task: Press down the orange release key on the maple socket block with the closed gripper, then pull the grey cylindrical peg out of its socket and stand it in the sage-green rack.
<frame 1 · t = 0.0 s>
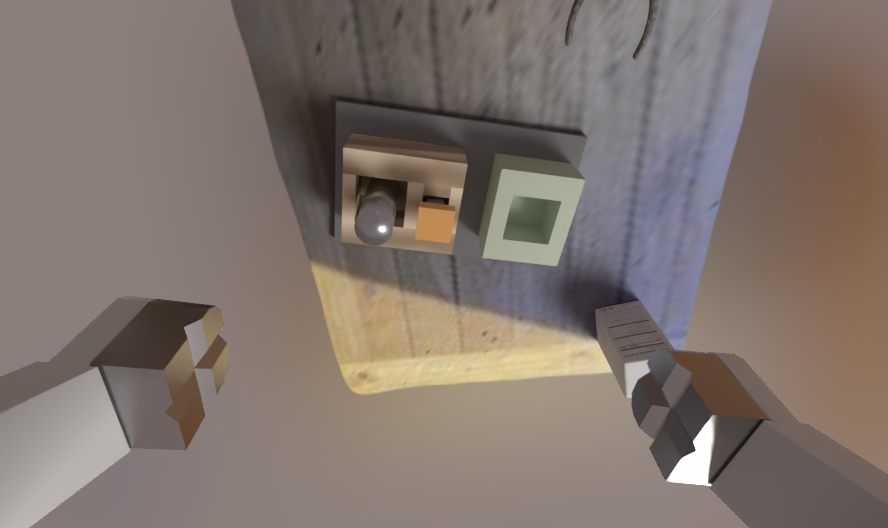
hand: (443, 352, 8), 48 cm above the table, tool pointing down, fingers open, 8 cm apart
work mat: (452, 189, 57), on the table
release key: (434, 215, 50), point 9 cm above the table, slide at 0.0 cm
rack: (522, 201, 57), resting on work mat
socket block: (404, 186, 56), resting on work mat
supplement box: (617, 319, 70), on the table
grey cylindrical peg: (384, 186, 55), point 2 cm above the table, touching socket block
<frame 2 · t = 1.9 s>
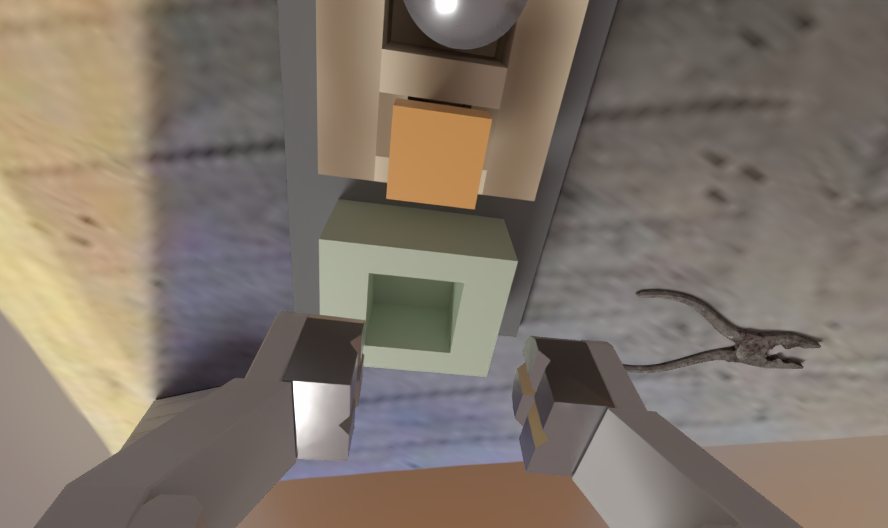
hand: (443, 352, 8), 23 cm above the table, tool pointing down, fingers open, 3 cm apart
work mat: (430, 143, 29), on the table
release key: (436, 142, 20), point 9 cm above the table, slide at 0.0 cm
rack: (415, 267, 33), resting on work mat
socket block: (444, 38, 25), resting on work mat
supplement box: (208, 414, 43), on the table
pliers: (713, 327, 39), on the table
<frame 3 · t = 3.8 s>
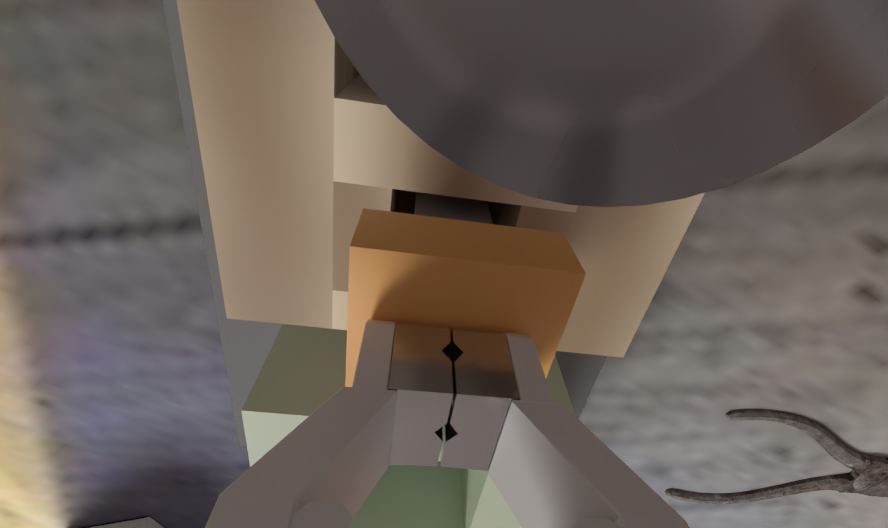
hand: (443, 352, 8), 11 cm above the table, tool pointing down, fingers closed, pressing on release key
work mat: (435, 221, 18), on the table
release key: (448, 271, 10), point 8 cm above the table, slide at 0.9 cm, touching gripper
rack: (411, 389, 23), resting on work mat
socket block: (461, 61, 14), resting on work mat
pliers: (823, 448, 28), on the table
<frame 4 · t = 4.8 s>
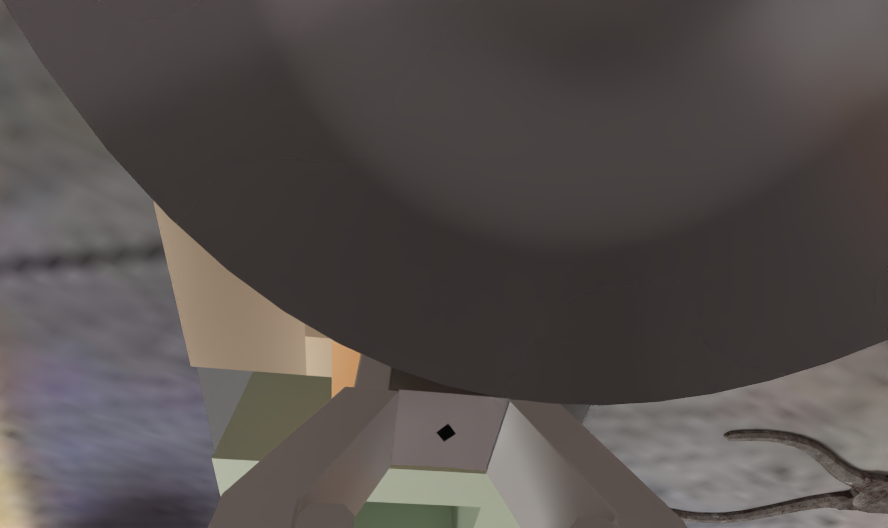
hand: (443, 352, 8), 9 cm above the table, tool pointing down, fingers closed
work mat: (421, 246, 18), on the table
release key: (429, 274, 11), point 6 cm above the table, slide at 2.8 cm
rack: (399, 417, 22), resting on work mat
socket block: (445, 82, 13), resting on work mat
pliers: (822, 465, 28), on the table
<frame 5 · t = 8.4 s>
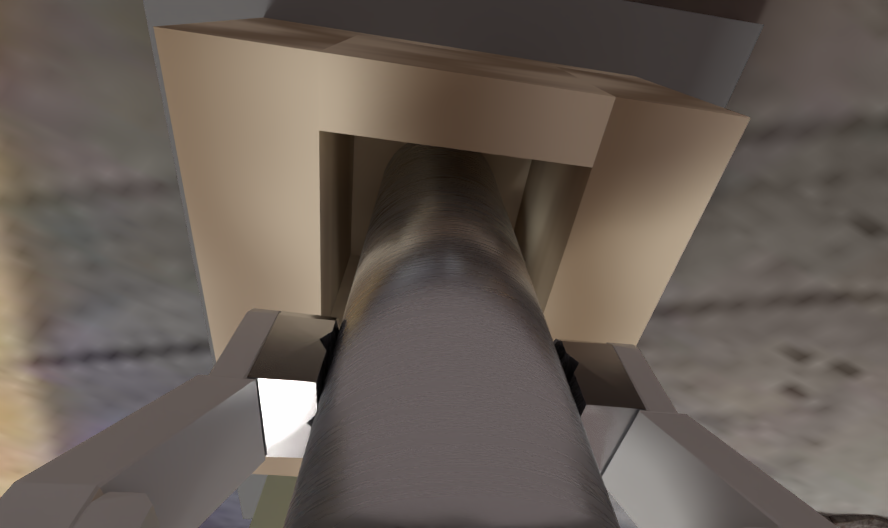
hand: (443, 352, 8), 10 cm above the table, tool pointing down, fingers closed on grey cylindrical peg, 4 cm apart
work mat: (413, 343, 21), on the table
rack: (396, 473, 25), resting on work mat
socket block: (429, 239, 17), resting on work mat
pliers: (771, 507, 31), on the table
grey cylindrical peg: (438, 191, 15), point 2 cm above the table, touching gripper, socket block
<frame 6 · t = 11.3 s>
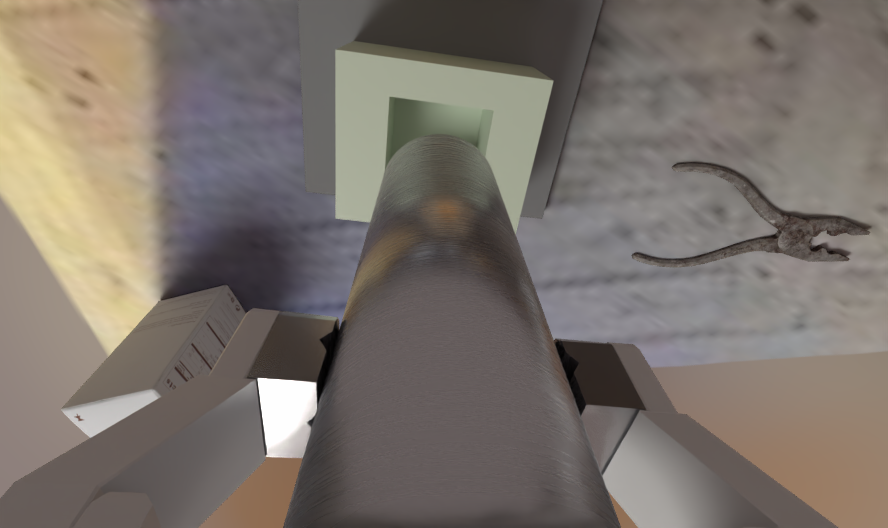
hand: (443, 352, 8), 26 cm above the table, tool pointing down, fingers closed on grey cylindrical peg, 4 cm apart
rack: (435, 129, 31), resting on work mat
supplement box: (215, 319, 41), on the table
pliers: (753, 212, 37), on the table
grey cylindrical peg: (438, 191, 15), point 18 cm above the table, touching gripper
when the fingers open (13 cm above the table, at t = 14.5 s): grey cylindrical peg drops 2 cm, resting on rack.
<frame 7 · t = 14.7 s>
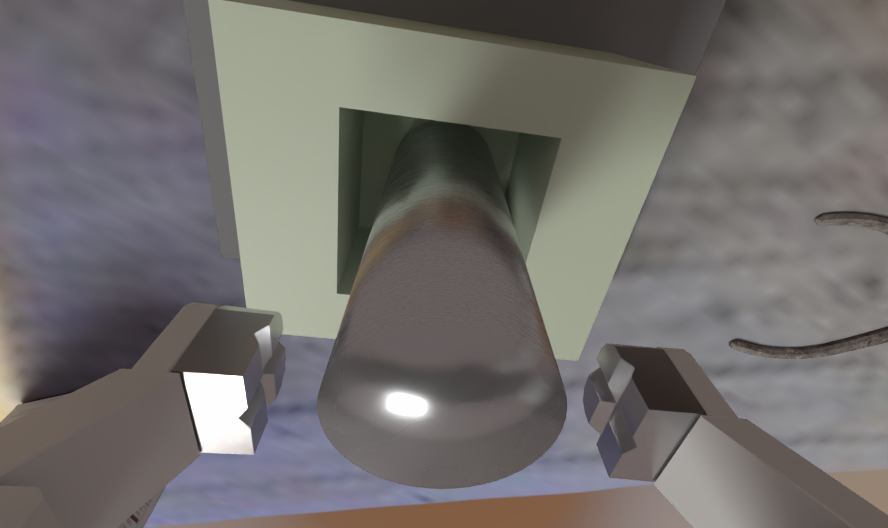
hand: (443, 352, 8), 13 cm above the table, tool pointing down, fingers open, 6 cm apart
rack: (436, 161, 18), resting on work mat
supplement box: (109, 425, 28), on the table
grey cylindrical peg: (443, 169, 17), point 2 cm above the table, touching rack
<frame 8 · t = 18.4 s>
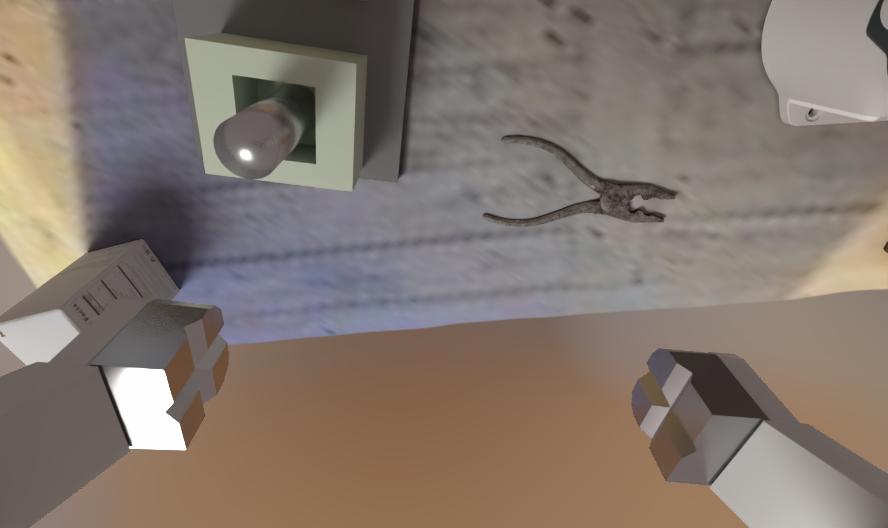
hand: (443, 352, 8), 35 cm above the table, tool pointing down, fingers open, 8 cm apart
rack: (297, 106, 38), resting on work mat
supplement box: (136, 270, 48), on the table
pliers: (579, 179, 44), on the table
grey cylindrical peg: (297, 108, 37), point 2 cm above the table, touching rack
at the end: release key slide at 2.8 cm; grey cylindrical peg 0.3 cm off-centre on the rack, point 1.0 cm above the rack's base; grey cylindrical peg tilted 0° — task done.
